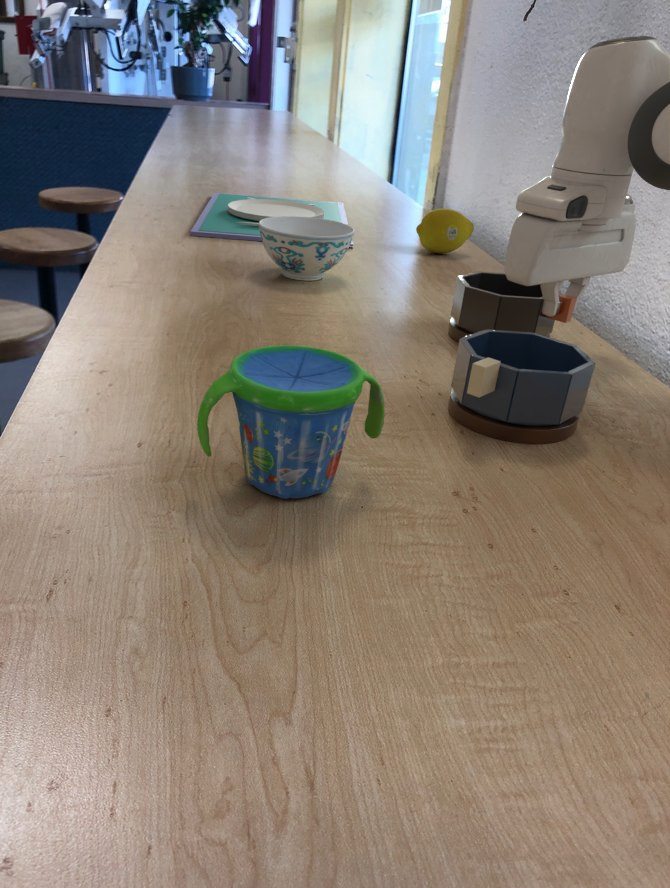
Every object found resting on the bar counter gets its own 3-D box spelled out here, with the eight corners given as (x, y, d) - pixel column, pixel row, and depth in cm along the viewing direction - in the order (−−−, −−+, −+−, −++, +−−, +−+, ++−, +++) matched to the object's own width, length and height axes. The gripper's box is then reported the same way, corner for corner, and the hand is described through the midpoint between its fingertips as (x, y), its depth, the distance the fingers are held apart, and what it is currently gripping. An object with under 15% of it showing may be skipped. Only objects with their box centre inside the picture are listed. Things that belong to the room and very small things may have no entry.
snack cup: (206, 519, 60) (209, 395, 55) (187, 456, 69) (188, 345, 64) (396, 506, 64) (415, 389, 59) (356, 448, 73) (369, 342, 68)
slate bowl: (493, 371, 89) (504, 319, 86) (597, 406, 82) (612, 351, 79) (414, 403, 79) (423, 346, 76) (525, 447, 72) (540, 386, 69)
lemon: (414, 255, 146) (421, 210, 142) (410, 246, 153) (416, 202, 149) (472, 260, 146) (481, 215, 142) (465, 250, 153) (473, 207, 149)
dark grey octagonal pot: (434, 322, 104) (442, 276, 101) (484, 307, 112) (492, 264, 109) (538, 355, 96) (549, 306, 93) (584, 336, 104) (596, 291, 101)
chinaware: (368, 282, 126) (374, 232, 123) (295, 292, 118) (299, 239, 114) (308, 260, 136) (312, 214, 132) (238, 268, 128) (239, 219, 124)
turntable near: (567, 401, 87) (570, 388, 87) (584, 452, 76) (588, 438, 75) (447, 385, 89) (450, 372, 88) (447, 433, 77) (450, 419, 77)
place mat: (214, 196, 185) (214, 185, 184) (342, 206, 186) (343, 196, 185) (190, 235, 146) (190, 223, 145) (352, 248, 147) (354, 235, 146)
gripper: (614, 189, 99) (587, 297, 106) (507, 195, 88) (484, 315, 95) (659, 197, 95) (628, 310, 102) (552, 205, 84) (525, 331, 91)
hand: (558, 313), depth 99 cm, fingers closed on dark grey octagonal pot, 2 cm apart
